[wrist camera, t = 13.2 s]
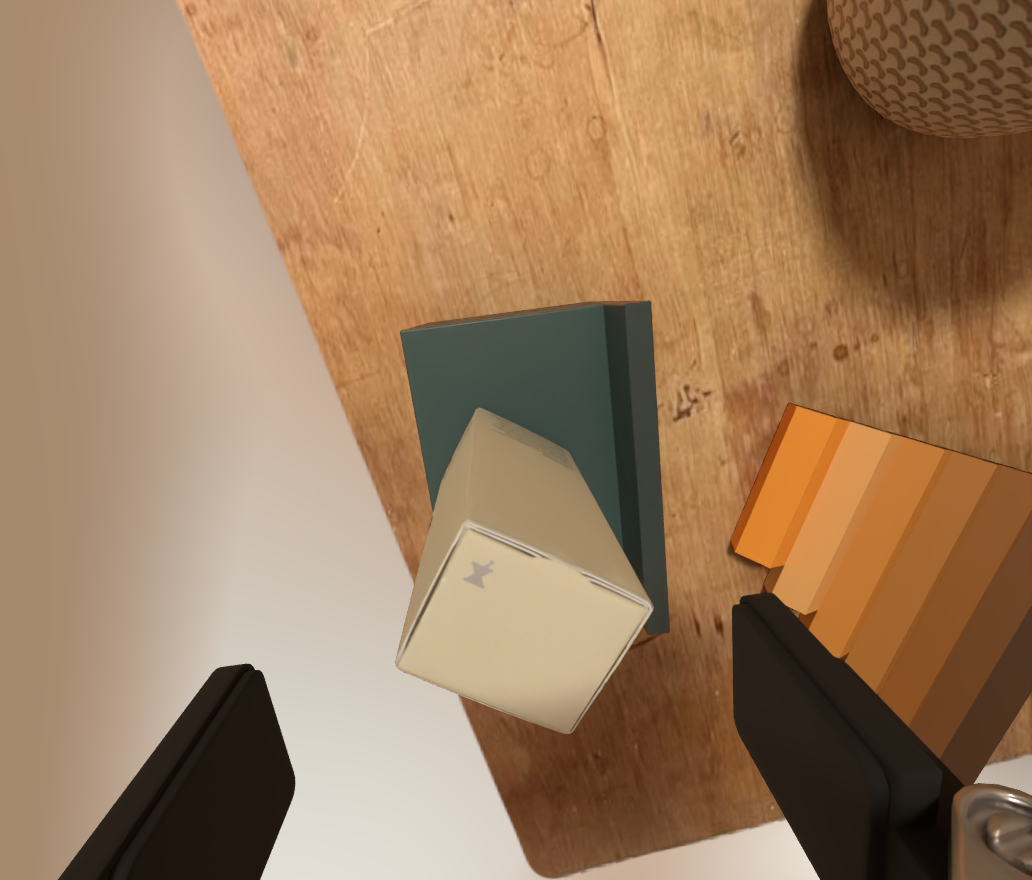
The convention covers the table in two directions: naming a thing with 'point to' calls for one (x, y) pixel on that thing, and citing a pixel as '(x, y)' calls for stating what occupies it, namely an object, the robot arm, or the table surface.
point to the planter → (939, 62)
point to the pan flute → (903, 572)
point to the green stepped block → (557, 407)
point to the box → (520, 582)
